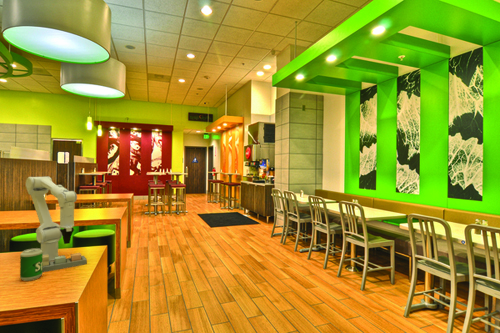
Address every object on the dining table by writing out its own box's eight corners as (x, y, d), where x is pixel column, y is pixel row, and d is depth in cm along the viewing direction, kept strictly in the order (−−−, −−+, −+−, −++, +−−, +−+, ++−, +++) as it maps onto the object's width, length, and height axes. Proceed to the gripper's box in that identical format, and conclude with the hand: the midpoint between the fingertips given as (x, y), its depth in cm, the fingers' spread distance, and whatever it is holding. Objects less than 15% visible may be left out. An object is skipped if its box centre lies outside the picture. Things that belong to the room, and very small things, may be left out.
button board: (31, 269, 129) (31, 264, 129) (83, 259, 143) (83, 255, 143) (32, 274, 123) (32, 269, 123) (86, 264, 137) (86, 259, 137)
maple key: (37, 264, 129) (37, 256, 129) (48, 262, 132) (48, 254, 132) (38, 267, 126) (38, 258, 126) (48, 265, 129) (48, 256, 129)
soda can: (30, 282, 115) (30, 253, 115) (15, 280, 116) (15, 252, 116) (46, 275, 122) (47, 248, 122) (32, 274, 124) (33, 247, 124)
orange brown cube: (70, 262, 138) (70, 254, 138) (79, 260, 140) (80, 252, 140) (71, 264, 134) (71, 256, 134) (81, 262, 137) (81, 254, 137)
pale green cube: (54, 265, 133) (54, 256, 133) (64, 263, 136) (64, 255, 136) (55, 267, 130) (55, 259, 130) (65, 265, 133) (65, 257, 133)
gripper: (55, 214, 140) (55, 241, 140) (58, 218, 129) (58, 248, 129) (72, 213, 145) (71, 239, 145) (76, 217, 134) (76, 245, 134)
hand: (66, 243), depth 137 cm, fingers closed
